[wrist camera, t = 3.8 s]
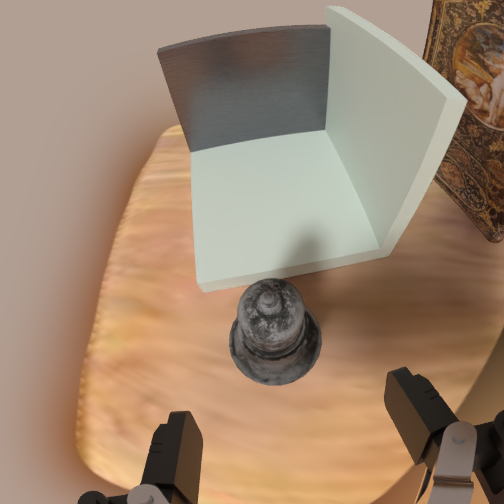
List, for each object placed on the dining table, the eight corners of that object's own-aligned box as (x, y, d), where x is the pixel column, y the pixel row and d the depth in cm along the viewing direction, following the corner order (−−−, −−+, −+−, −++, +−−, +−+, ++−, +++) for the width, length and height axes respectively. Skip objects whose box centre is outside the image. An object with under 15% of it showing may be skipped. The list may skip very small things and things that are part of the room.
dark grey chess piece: (221, 355, 21) (158, 308, 11) (269, 297, 23) (255, 203, 12) (283, 402, 19) (283, 412, 8) (331, 339, 21) (378, 278, 10)
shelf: (332, 135, 31) (342, 6, 17) (388, 256, 23) (467, 100, 9) (194, 158, 31) (152, 29, 17) (203, 292, 24) (105, 142, 10)
